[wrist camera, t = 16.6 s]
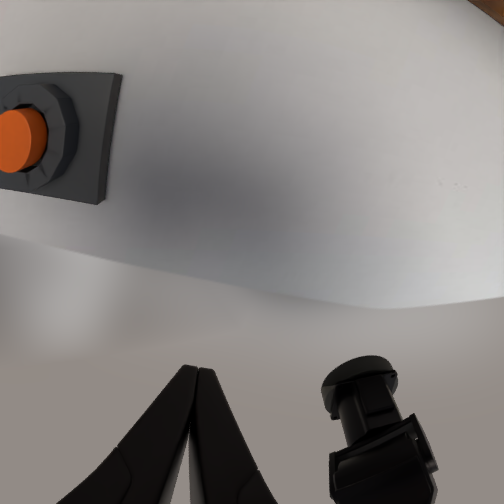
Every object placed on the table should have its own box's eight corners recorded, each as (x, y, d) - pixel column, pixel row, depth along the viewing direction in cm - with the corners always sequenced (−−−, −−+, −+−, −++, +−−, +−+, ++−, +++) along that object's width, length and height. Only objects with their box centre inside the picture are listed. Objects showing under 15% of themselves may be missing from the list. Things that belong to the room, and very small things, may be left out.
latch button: (51, 108, 13) (34, 109, 12) (45, 169, 15) (29, 176, 13) (9, 108, 13) (-9, 110, 11) (5, 164, 14) (-12, 170, 13)
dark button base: (123, 75, 15) (102, 70, 12) (105, 199, 18) (85, 214, 16) (6, 77, 14) (-21, 77, 11) (-2, 181, 17) (-27, 193, 14)
